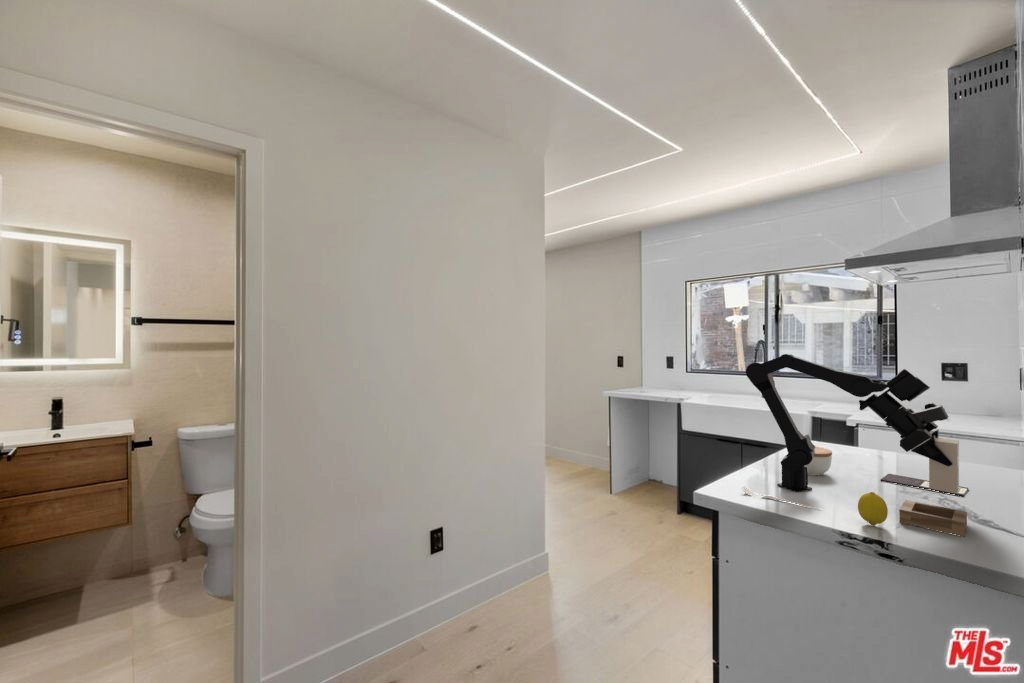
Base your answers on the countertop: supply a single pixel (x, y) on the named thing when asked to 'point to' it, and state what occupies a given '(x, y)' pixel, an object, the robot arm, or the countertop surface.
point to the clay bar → (945, 467)
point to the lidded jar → (820, 462)
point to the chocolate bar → (917, 483)
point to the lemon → (872, 508)
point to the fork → (771, 497)
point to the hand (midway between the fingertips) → (951, 463)
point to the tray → (933, 517)
